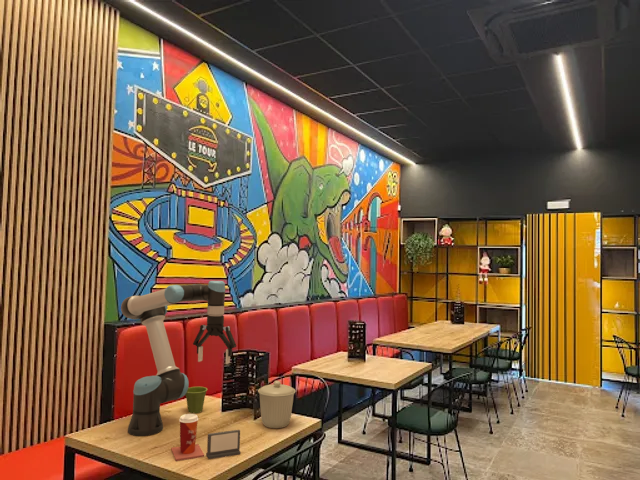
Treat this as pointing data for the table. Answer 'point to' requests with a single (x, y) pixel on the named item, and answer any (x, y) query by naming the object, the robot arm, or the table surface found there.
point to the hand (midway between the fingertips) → (213, 362)
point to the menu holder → (223, 444)
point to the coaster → (180, 456)
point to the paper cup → (188, 433)
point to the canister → (276, 404)
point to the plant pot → (195, 399)
